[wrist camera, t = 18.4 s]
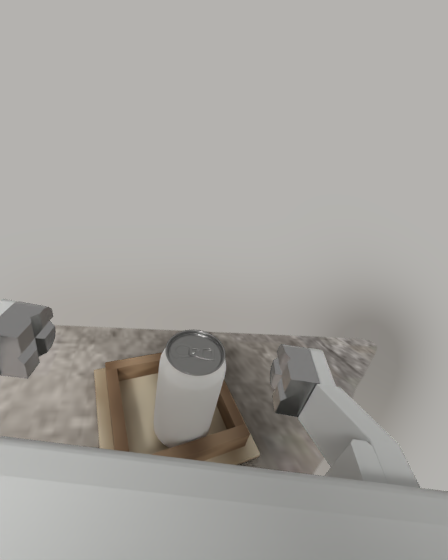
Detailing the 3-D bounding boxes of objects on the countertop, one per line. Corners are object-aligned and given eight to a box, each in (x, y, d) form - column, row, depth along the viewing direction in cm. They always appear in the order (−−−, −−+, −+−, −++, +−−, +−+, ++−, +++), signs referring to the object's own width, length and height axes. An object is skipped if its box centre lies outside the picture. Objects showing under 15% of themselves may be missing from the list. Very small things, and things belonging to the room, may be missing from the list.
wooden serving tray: (104, 517, 25) (103, 501, 24) (94, 373, 37) (93, 356, 35) (258, 456, 32) (266, 441, 30) (208, 351, 44) (211, 336, 42)
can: (157, 396, 35) (165, 323, 29) (209, 400, 36) (228, 330, 30) (147, 450, 30) (155, 375, 24) (209, 454, 31) (231, 382, 24)
